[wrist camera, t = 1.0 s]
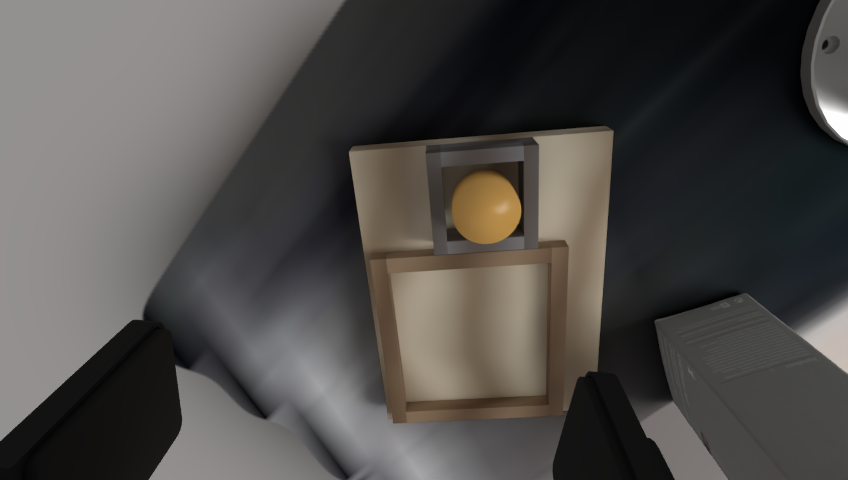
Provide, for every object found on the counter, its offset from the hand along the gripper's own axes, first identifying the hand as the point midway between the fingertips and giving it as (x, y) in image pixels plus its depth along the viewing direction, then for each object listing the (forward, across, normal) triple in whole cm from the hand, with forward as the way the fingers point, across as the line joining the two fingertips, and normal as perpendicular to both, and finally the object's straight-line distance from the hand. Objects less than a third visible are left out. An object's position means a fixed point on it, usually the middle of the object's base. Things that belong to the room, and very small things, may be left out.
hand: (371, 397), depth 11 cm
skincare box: (+21, -22, +11) cm, 32 cm away
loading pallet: (+20, -5, +8) cm, 22 cm away
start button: (+17, -4, +1) cm, 18 cm away
